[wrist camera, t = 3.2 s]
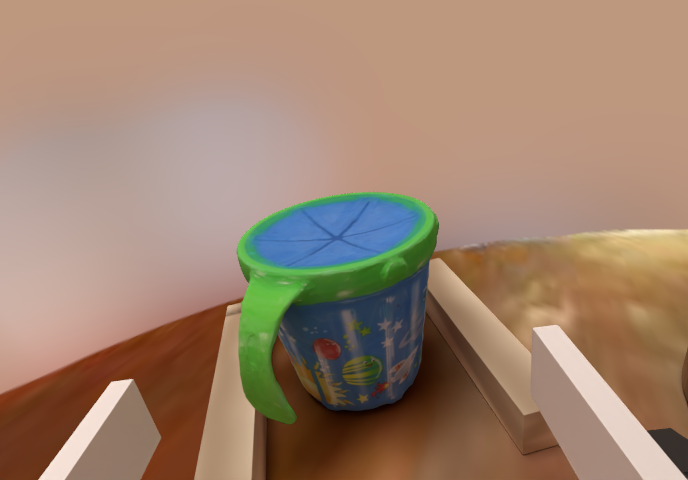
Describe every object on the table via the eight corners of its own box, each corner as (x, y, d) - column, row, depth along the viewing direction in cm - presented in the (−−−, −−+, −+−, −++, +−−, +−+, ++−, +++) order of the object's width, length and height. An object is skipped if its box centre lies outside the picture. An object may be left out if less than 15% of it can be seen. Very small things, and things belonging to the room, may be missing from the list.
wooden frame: (441, 284, 33) (439, 258, 32) (572, 440, 18) (576, 401, 17) (236, 332, 31) (227, 306, 30) (207, 544, 17) (188, 506, 16)
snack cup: (360, 531, 16) (314, 332, 12) (210, 428, 23) (147, 274, 19) (486, 323, 27) (483, 181, 23) (361, 292, 34) (342, 177, 30)
